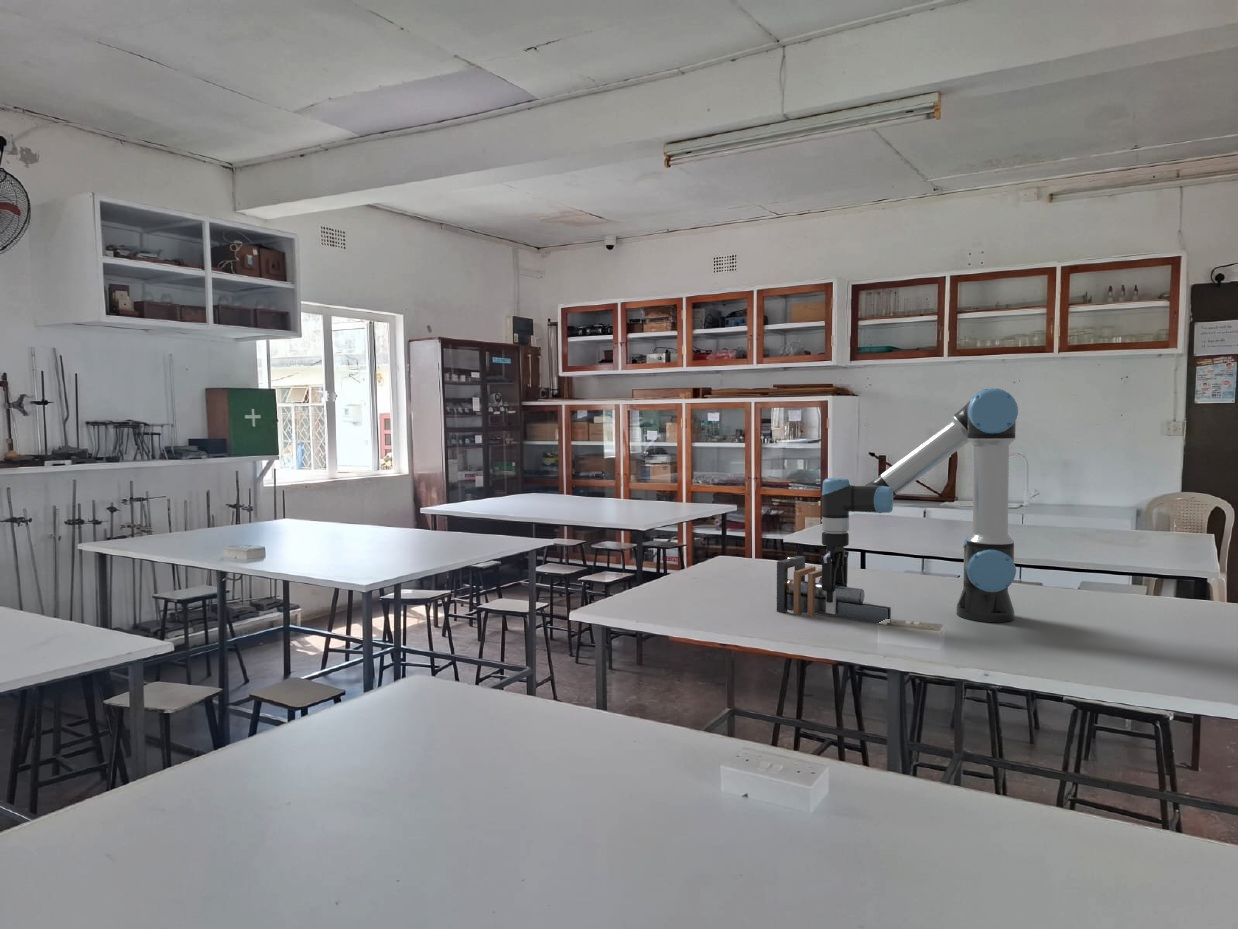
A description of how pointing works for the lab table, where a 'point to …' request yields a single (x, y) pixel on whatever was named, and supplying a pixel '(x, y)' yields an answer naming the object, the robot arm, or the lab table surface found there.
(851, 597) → the tube
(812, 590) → the collar
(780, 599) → the dark grey u-shaped frame
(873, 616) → the rail cradle
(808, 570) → the collar
